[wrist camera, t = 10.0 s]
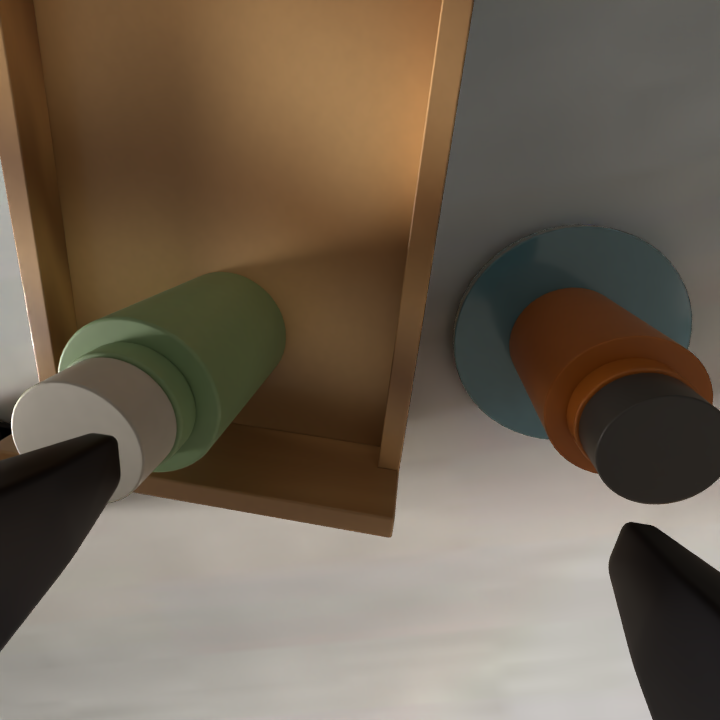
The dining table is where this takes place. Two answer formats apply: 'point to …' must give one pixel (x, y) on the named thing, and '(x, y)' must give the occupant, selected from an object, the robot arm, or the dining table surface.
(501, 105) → the dining table surface
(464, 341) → the coaster
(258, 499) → the spice rack
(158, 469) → the green bottle
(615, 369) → the amber bottle
